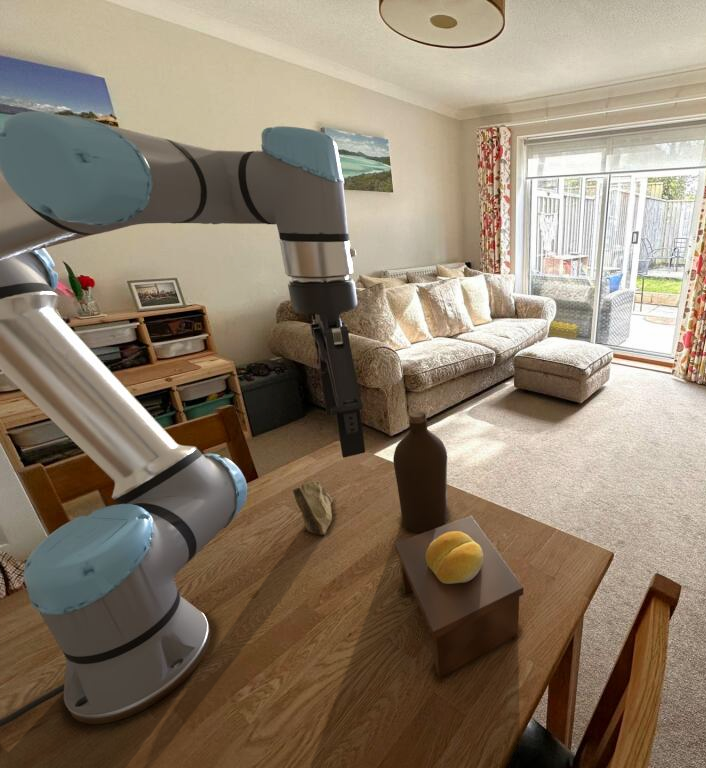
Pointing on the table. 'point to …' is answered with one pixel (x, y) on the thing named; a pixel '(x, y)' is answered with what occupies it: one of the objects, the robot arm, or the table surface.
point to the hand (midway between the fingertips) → (344, 431)
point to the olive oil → (421, 476)
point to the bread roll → (454, 557)
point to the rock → (314, 506)
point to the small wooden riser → (462, 598)
